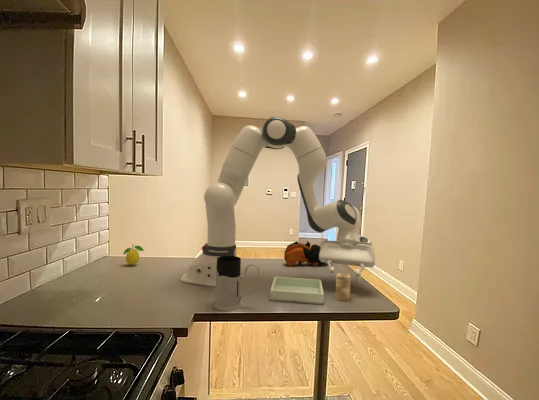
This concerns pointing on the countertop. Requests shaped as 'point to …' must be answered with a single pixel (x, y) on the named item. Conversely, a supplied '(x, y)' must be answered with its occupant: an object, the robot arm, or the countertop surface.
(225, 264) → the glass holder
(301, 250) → the tool
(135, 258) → the lemon
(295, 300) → the tray
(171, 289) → the countertop surface
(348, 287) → the block
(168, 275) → the countertop surface
